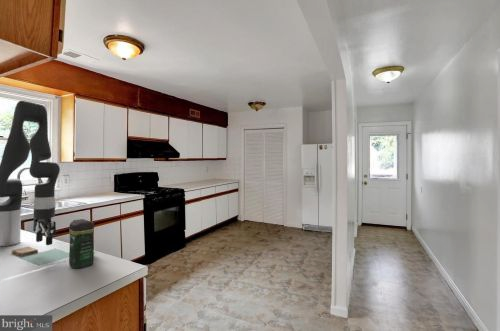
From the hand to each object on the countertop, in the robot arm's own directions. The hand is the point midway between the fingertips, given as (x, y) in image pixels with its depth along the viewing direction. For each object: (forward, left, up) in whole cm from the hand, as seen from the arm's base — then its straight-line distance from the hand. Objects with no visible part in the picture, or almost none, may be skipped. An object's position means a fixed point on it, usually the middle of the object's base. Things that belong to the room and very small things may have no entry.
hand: (44, 243), depth 117 cm
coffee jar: (+23, +3, -6) cm, 24 cm away
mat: (+3, 0, -6) cm, 7 cm away
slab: (-6, -3, -5) cm, 8 cm away
